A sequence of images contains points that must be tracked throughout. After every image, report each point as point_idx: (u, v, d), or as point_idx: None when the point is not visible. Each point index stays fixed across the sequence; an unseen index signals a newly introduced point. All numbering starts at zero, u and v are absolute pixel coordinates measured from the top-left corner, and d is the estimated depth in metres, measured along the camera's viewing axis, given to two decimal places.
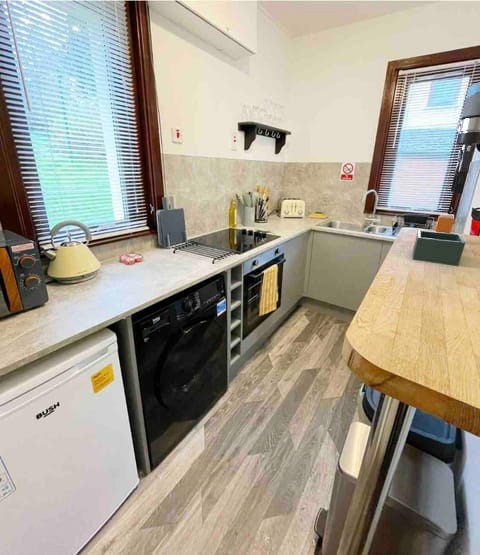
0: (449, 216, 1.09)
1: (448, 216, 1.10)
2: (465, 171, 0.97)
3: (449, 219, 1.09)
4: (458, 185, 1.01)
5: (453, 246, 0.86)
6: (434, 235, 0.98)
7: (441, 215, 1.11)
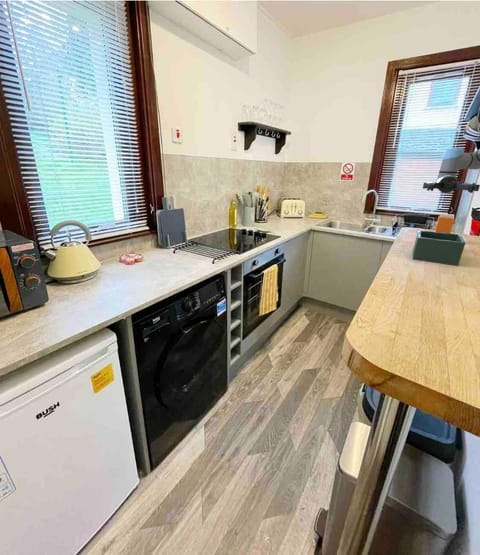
0: (449, 216, 1.09)
1: (448, 216, 1.10)
2: (423, 184, 1.24)
3: (449, 219, 1.09)
4: (431, 187, 1.20)
5: (453, 246, 0.86)
6: (434, 235, 0.98)
7: (441, 215, 1.11)
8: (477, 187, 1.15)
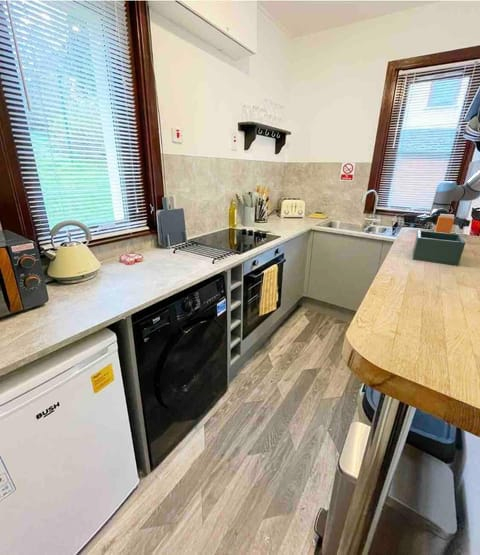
0: (449, 216, 1.09)
1: (448, 216, 1.10)
2: (415, 218, 1.27)
3: (449, 219, 1.09)
4: (422, 222, 1.22)
5: (453, 246, 0.86)
6: (434, 235, 0.98)
7: (441, 215, 1.11)
8: (468, 223, 1.17)
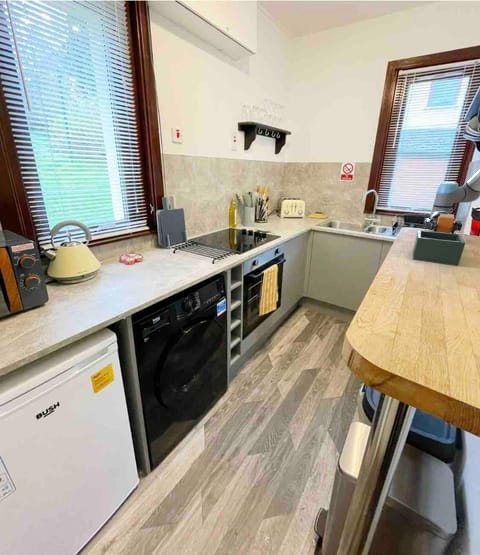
0: (449, 216, 1.09)
1: (448, 216, 1.10)
2: (426, 223, 1.16)
3: (449, 219, 1.09)
4: (434, 228, 1.12)
5: (453, 246, 0.86)
6: (434, 235, 0.98)
7: (441, 215, 1.11)
8: (459, 227, 1.11)
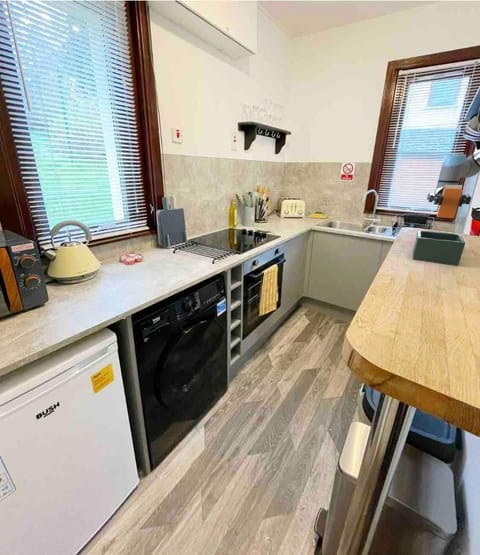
0: (456, 187, 0.96)
1: (455, 188, 0.96)
2: (430, 197, 1.03)
3: (456, 190, 0.95)
4: (439, 201, 0.98)
5: (453, 246, 0.86)
6: (434, 235, 0.98)
7: (447, 186, 0.97)
8: (468, 199, 0.97)
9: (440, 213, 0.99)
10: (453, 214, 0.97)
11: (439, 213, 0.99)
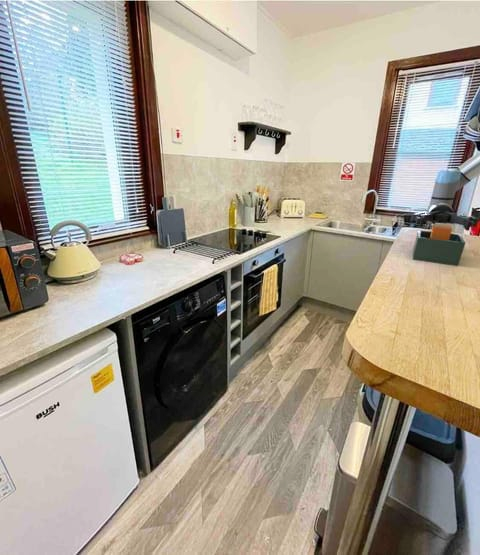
0: (445, 226, 0.90)
1: (444, 226, 0.90)
2: (411, 216, 0.98)
3: (445, 230, 0.89)
4: (420, 221, 0.93)
5: (453, 246, 0.86)
6: None
7: (436, 224, 0.91)
8: (475, 222, 0.89)
9: None
10: None
11: None
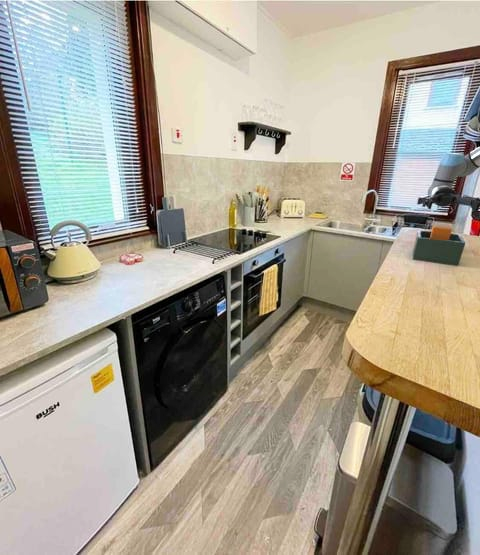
0: (445, 226, 0.90)
1: (444, 226, 0.90)
2: (418, 199, 1.05)
3: (445, 230, 0.89)
4: (428, 204, 1.01)
5: (453, 246, 0.86)
6: None
7: (436, 224, 0.91)
8: None
9: None
10: None
11: None
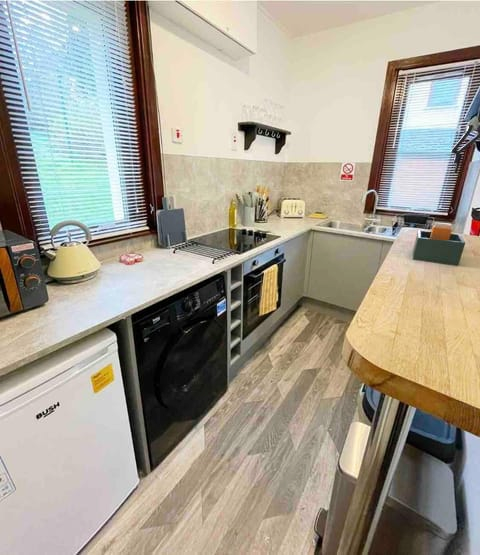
0: (445, 226, 0.90)
1: (444, 226, 0.90)
2: (451, 151, 1.06)
3: (445, 230, 0.89)
4: (456, 164, 1.07)
5: (453, 246, 0.86)
6: None
7: (436, 224, 0.91)
8: None
9: None
10: None
11: None
